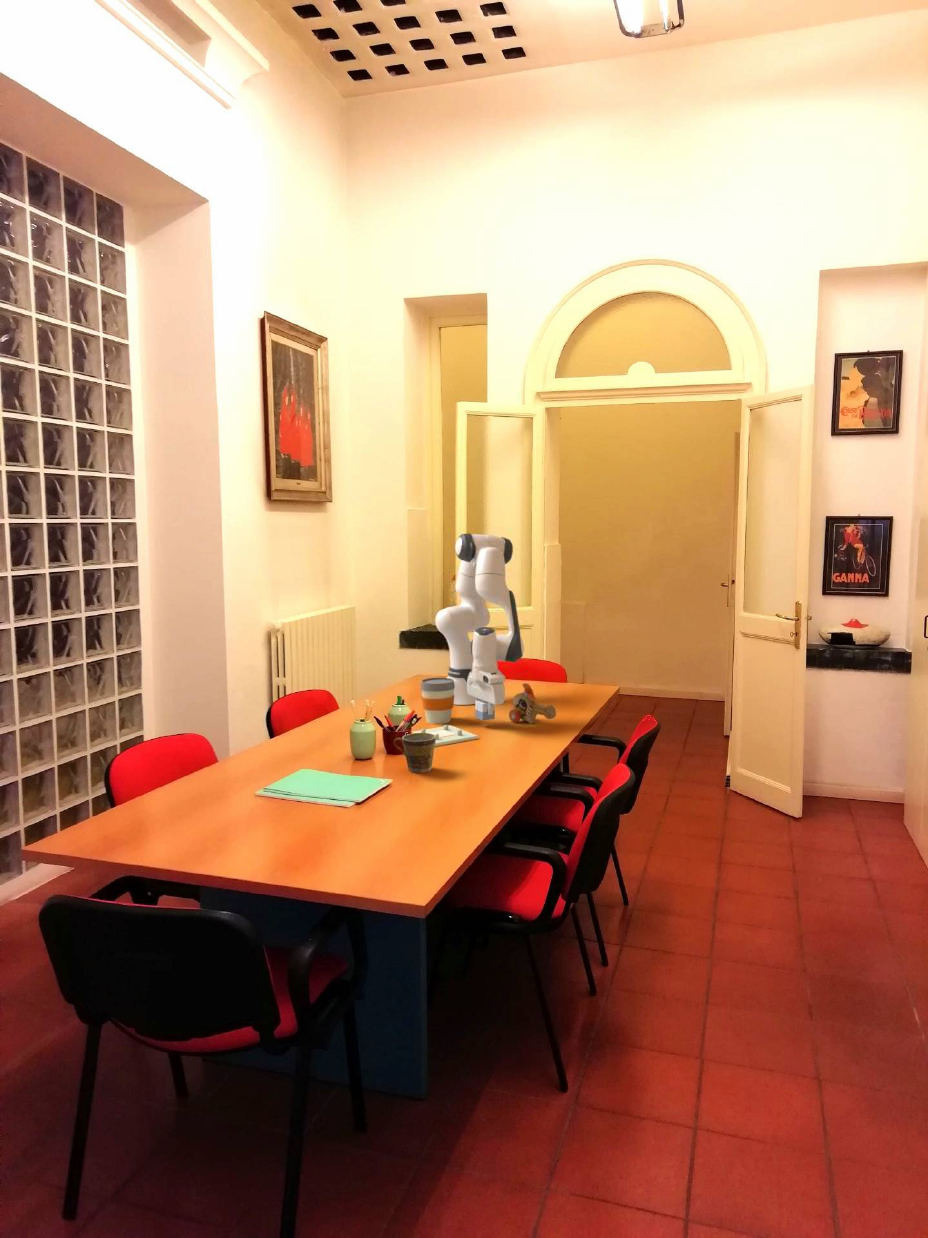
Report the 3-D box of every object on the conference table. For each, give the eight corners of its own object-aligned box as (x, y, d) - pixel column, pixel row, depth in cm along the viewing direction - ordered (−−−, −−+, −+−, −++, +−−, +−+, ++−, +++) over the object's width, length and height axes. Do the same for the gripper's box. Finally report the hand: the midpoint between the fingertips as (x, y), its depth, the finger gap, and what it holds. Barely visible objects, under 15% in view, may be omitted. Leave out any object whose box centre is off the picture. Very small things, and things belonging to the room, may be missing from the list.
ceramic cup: (440, 766, 263) (440, 733, 262) (430, 775, 254) (429, 742, 253) (400, 763, 267) (399, 731, 266) (388, 773, 257) (387, 739, 256)
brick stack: (475, 717, 312) (475, 701, 311) (487, 715, 314) (487, 699, 313) (482, 720, 307) (482, 704, 306) (494, 718, 310) (494, 702, 309)
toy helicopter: (523, 717, 323) (522, 681, 321) (563, 727, 307) (562, 689, 305) (506, 721, 318) (506, 684, 316) (546, 731, 302) (546, 692, 300)
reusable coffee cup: (417, 724, 316) (416, 683, 314) (426, 716, 328) (425, 677, 326) (450, 725, 313) (449, 684, 311) (459, 717, 325) (458, 677, 323)
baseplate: (405, 735, 300) (405, 728, 300) (450, 728, 309) (450, 721, 309) (431, 747, 285) (431, 739, 285) (478, 738, 294) (477, 731, 294)
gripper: (462, 670, 316) (462, 707, 318) (492, 680, 298) (492, 719, 300) (477, 668, 319) (477, 705, 321) (508, 678, 301) (508, 717, 303)
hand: (485, 712), depth 310 cm, fingers closed on brick stack, 5 cm apart
